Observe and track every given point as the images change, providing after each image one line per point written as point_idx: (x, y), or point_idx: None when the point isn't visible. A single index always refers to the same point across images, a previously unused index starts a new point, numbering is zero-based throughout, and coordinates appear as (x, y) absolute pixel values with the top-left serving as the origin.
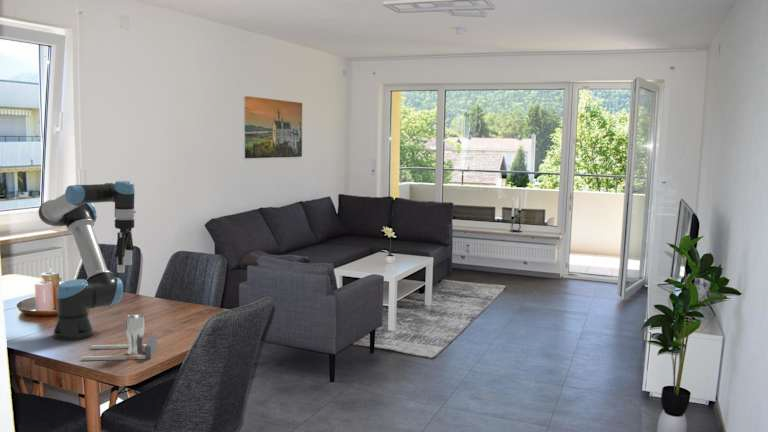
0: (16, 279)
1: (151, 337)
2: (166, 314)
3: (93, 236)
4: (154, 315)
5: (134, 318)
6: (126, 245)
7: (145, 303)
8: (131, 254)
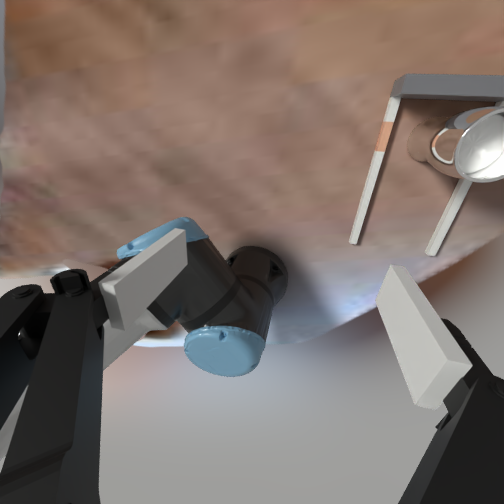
0: None
1: (432, 89)
2: (108, 94)
3: None
4: (121, 127)
5: (447, 152)
6: (98, 365)
7: (44, 161)
8: (140, 265)
